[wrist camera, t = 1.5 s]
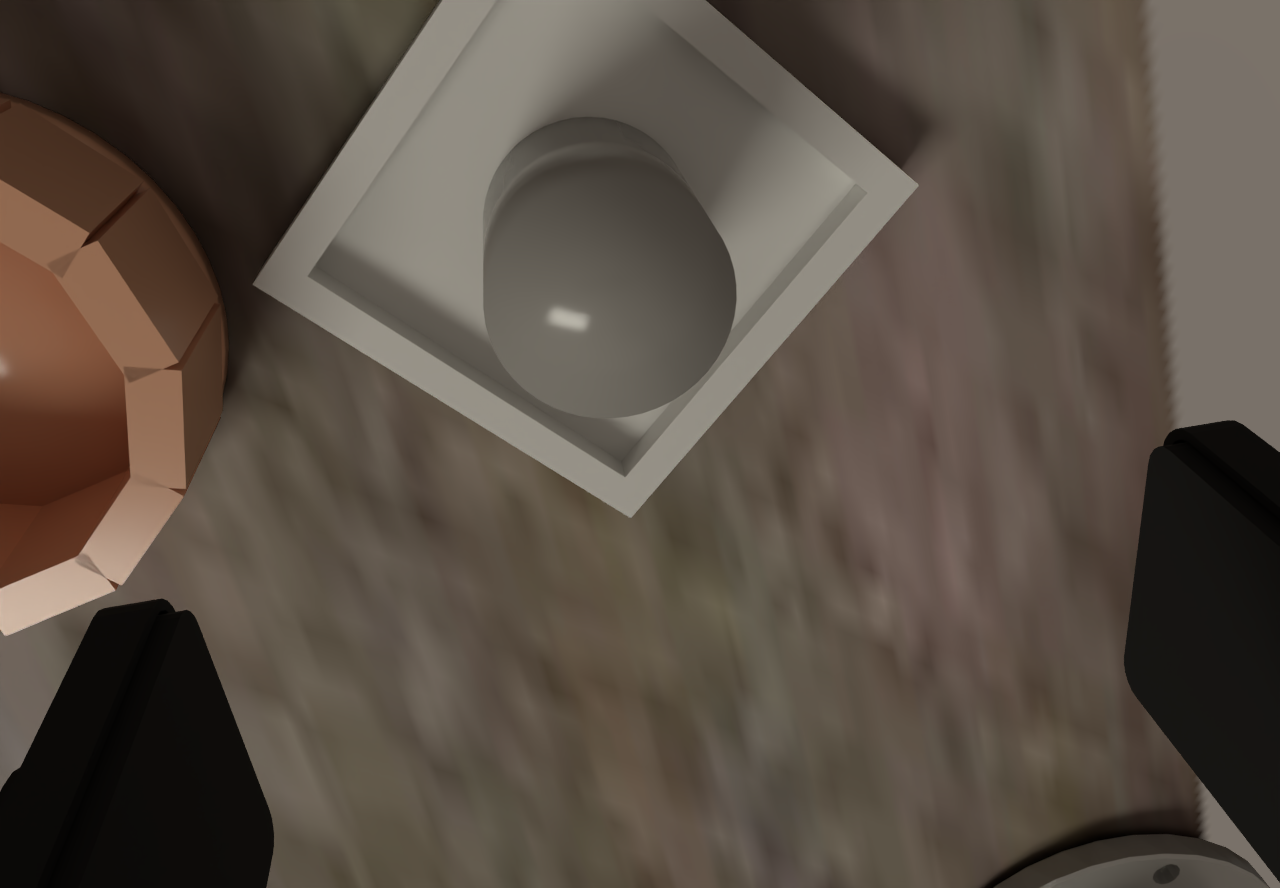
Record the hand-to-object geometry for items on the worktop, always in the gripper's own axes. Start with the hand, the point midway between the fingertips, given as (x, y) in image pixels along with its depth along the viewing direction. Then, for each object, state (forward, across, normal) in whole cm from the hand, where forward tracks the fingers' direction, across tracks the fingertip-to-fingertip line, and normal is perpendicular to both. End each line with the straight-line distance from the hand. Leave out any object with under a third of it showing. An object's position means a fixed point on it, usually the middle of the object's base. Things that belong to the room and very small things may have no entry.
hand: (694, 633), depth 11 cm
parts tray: (+15, 0, 0) cm, 15 cm away
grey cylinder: (+15, 0, 0) cm, 15 cm away
